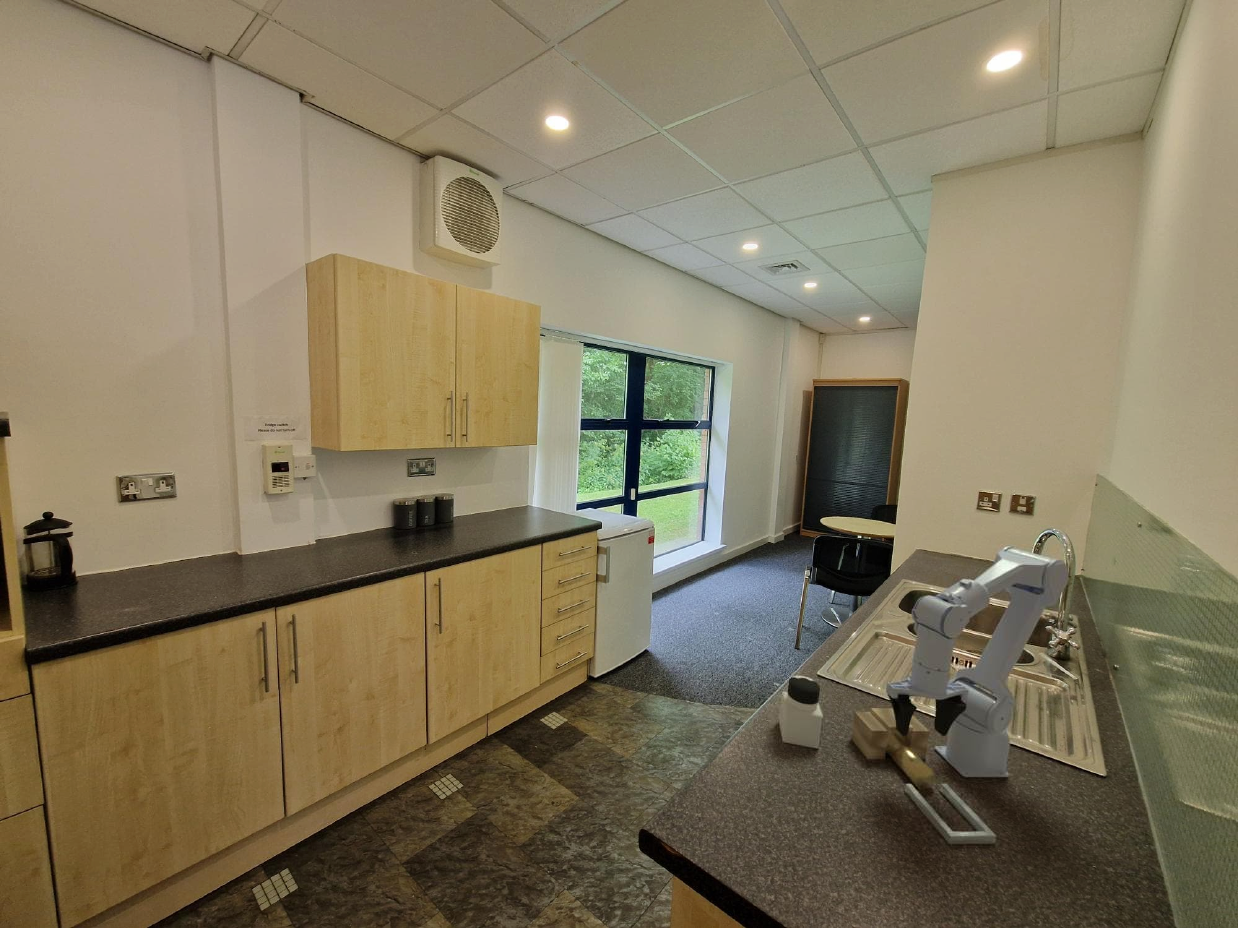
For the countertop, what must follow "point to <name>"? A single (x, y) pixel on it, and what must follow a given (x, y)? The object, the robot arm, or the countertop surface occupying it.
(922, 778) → the axle
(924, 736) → the wooden stepped block
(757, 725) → the countertop surface
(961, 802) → the cradle
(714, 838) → the countertop surface
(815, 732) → the medicine bottle
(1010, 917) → the countertop surface
